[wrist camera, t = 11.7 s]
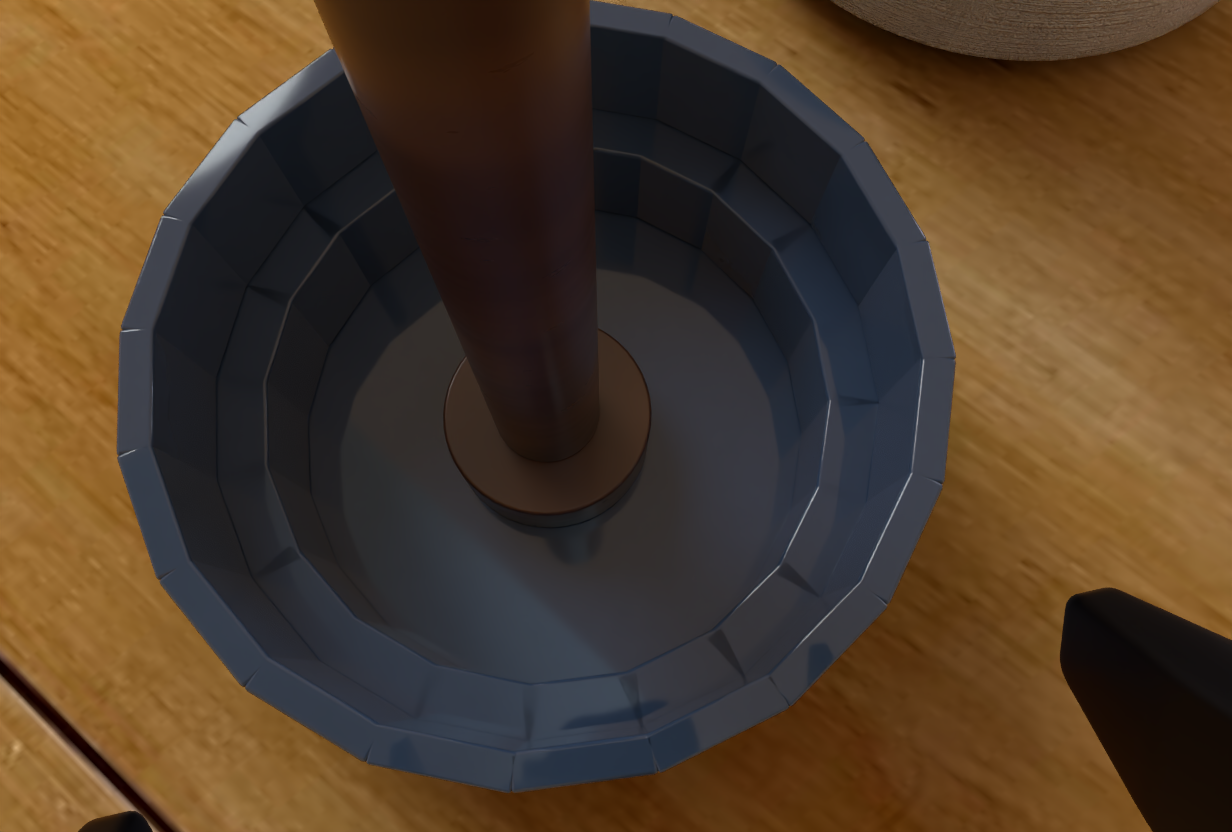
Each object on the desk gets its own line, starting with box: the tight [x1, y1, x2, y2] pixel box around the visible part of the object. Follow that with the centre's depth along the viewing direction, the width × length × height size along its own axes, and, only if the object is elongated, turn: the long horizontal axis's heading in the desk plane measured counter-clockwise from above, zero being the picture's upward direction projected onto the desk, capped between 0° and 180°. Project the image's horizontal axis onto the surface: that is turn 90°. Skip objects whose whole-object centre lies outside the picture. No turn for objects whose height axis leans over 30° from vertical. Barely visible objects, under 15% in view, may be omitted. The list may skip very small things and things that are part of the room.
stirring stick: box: [314, 0, 652, 528], centre depth 13 cm, size 4×4×16 cm
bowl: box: [117, 0, 956, 793], centre depth 19 cm, size 14×14×6 cm
